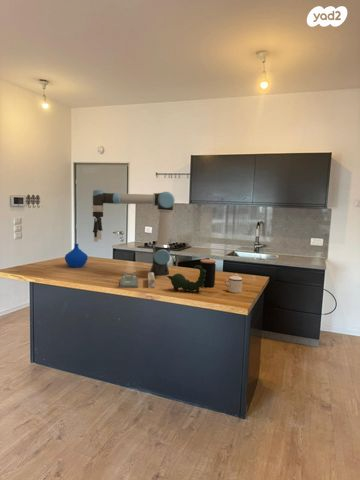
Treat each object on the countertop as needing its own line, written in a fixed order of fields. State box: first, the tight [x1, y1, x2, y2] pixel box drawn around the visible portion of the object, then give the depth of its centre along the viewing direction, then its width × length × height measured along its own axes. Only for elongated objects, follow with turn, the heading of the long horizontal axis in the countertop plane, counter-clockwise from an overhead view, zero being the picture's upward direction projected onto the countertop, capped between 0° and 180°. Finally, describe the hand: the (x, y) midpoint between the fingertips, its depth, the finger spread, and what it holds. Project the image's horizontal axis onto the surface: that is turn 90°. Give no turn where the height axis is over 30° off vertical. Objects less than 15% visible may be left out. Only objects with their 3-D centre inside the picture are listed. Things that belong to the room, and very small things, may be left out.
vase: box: [64, 243, 89, 268], centre depth 279 cm, size 18×18×19 cm
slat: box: [147, 271, 156, 289], centre depth 231 cm, size 4×22×6 cm, turn 7°
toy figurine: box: [166, 265, 206, 293], centre depth 215 cm, size 9×19×25 cm
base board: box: [119, 277, 139, 289], centre depth 229 cm, size 12×22×2 cm, turn 7°
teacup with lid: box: [223, 273, 244, 294], centre depth 221 cm, size 12×9×12 cm
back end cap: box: [123, 270, 137, 279], centre depth 238 cm, size 8×3×6 cm, turn 97°
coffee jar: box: [199, 258, 217, 288], centre depth 231 cm, size 11×11×18 cm
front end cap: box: [122, 275, 137, 285], centre depth 220 cm, size 8×3×6 cm, turn 97°
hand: (97, 240), depth 243 cm, fingers open, 13 cm apart
